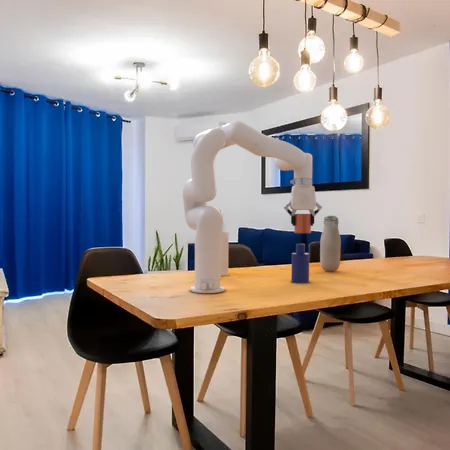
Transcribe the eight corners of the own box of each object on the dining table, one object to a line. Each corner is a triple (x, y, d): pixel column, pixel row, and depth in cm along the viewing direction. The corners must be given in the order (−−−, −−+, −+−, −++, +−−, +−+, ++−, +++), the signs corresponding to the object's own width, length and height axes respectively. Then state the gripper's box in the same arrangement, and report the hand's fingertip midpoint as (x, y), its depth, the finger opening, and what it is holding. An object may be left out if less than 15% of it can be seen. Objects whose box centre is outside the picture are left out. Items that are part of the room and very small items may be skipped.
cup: (312, 233, 180) (312, 213, 180) (296, 233, 180) (296, 213, 180) (308, 232, 187) (308, 213, 187) (293, 232, 187) (293, 213, 186)
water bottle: (310, 283, 181) (310, 244, 181) (293, 283, 181) (293, 244, 181) (306, 280, 189) (307, 243, 188) (290, 280, 188) (290, 243, 188)
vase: (230, 275, 204) (230, 232, 203) (215, 275, 201) (215, 232, 201) (222, 272, 214) (222, 231, 214) (208, 272, 212) (208, 231, 212)
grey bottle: (319, 272, 216) (319, 215, 215) (321, 269, 226) (321, 215, 225) (339, 273, 213) (340, 215, 212) (340, 270, 223) (341, 215, 222)
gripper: (283, 182, 179) (283, 225, 179) (325, 182, 179) (325, 226, 180) (280, 183, 186) (280, 225, 187) (321, 183, 187) (321, 225, 187)
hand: (302, 225), depth 183 cm, fingers closed on cup, 6 cm apart
